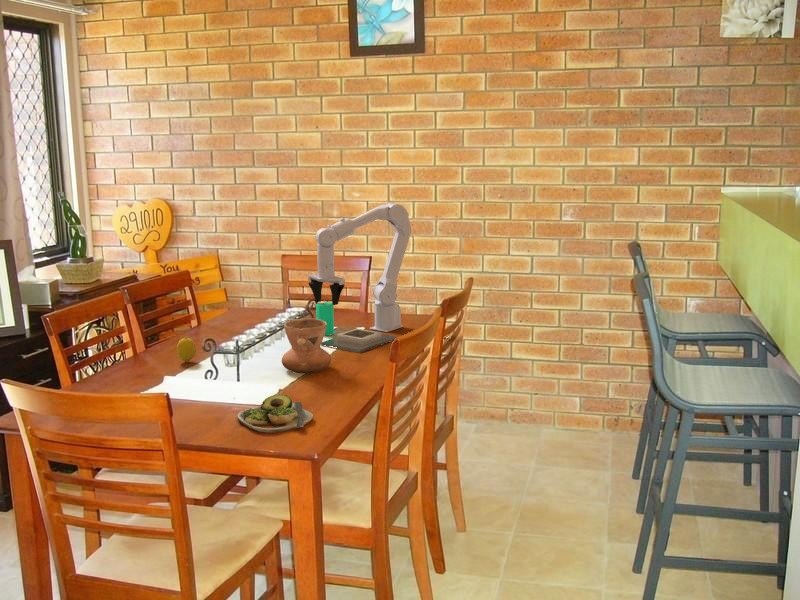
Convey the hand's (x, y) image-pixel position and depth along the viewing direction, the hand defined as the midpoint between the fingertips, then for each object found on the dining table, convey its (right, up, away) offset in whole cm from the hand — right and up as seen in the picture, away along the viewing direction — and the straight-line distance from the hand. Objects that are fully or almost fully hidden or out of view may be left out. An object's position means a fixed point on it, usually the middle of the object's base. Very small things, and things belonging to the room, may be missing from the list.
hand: (326, 303), depth 292 cm
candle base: (+12, -13, -11) cm, 20 cm away
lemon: (-40, -18, -33) cm, 54 cm away
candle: (-1, -11, +1) cm, 11 cm away
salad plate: (-5, -29, -82) cm, 87 cm away
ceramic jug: (-2, -20, -40) cm, 45 cm away
